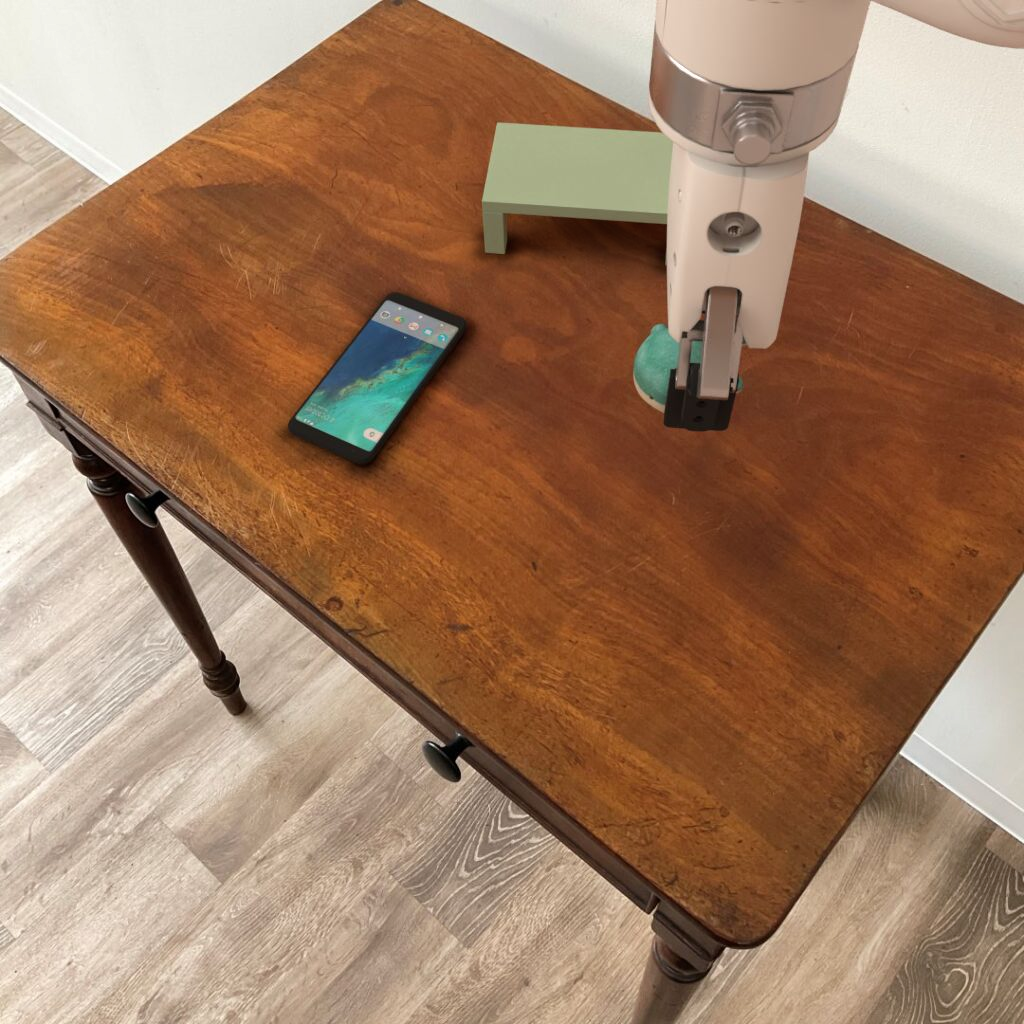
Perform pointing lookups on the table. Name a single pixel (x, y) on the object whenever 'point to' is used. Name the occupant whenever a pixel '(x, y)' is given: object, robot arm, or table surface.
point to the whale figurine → (661, 365)
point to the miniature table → (574, 176)
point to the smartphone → (377, 378)
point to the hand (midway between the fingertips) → (696, 362)
